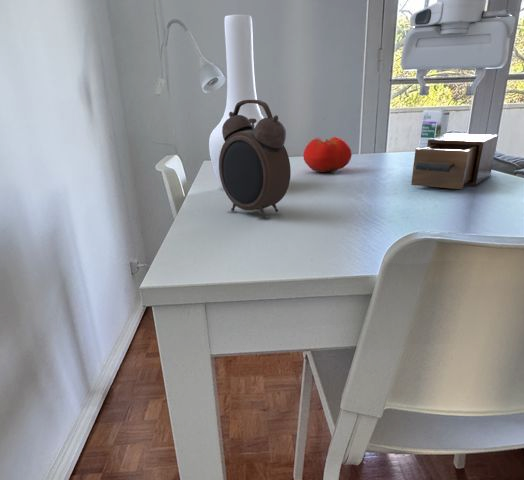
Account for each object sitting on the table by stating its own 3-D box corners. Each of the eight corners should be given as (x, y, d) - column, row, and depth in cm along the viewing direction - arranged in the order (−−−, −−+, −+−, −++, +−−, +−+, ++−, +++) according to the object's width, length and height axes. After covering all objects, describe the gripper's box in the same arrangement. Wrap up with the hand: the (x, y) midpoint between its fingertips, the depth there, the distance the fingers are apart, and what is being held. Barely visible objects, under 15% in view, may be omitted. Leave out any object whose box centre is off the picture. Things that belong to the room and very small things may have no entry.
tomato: (293, 174, 131) (293, 139, 127) (311, 167, 141) (311, 135, 136) (340, 177, 126) (342, 141, 121) (355, 169, 135) (357, 136, 131)
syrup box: (415, 165, 138) (422, 110, 130) (423, 163, 142) (430, 109, 134) (434, 167, 134) (442, 110, 127) (442, 164, 138) (450, 109, 131)
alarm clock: (216, 211, 96) (207, 100, 86) (242, 205, 100) (236, 98, 90) (268, 223, 87) (265, 100, 77) (294, 215, 91) (294, 98, 81)
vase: (210, 195, 110) (194, 12, 92) (214, 182, 124) (202, 21, 107) (281, 192, 110) (279, 9, 93) (277, 179, 124) (275, 19, 107)
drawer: (455, 193, 100) (462, 154, 96) (403, 188, 106) (407, 151, 102) (477, 179, 113) (484, 143, 109) (430, 175, 119) (434, 142, 115)
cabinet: (475, 185, 110) (483, 141, 106) (422, 181, 117) (428, 139, 112) (490, 176, 121) (498, 135, 116) (440, 172, 127) (446, 133, 122)
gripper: (521, 10, 87) (503, 95, 94) (414, 19, 97) (404, 95, 104) (514, 6, 83) (496, 95, 89) (402, 16, 93) (393, 95, 100)
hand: (446, 95), depth 97 cm, fingers open, 8 cm apart
